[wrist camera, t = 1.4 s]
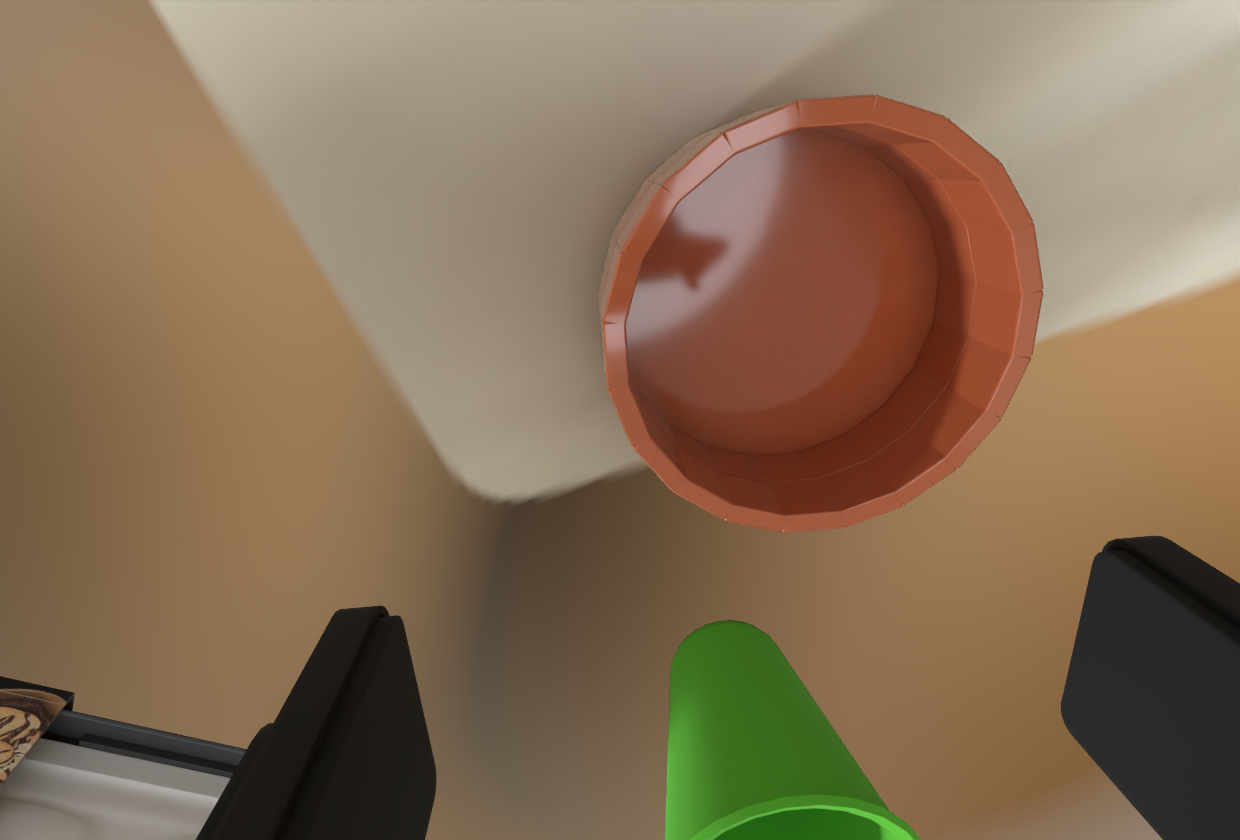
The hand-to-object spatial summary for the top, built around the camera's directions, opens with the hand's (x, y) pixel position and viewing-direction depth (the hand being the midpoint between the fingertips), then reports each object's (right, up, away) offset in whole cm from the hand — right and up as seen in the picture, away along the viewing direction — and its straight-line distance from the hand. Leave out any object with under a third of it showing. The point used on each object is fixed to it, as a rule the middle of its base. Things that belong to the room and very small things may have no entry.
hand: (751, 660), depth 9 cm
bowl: (+4, +8, +16) cm, 18 cm away
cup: (+3, -8, +23) cm, 24 cm away
